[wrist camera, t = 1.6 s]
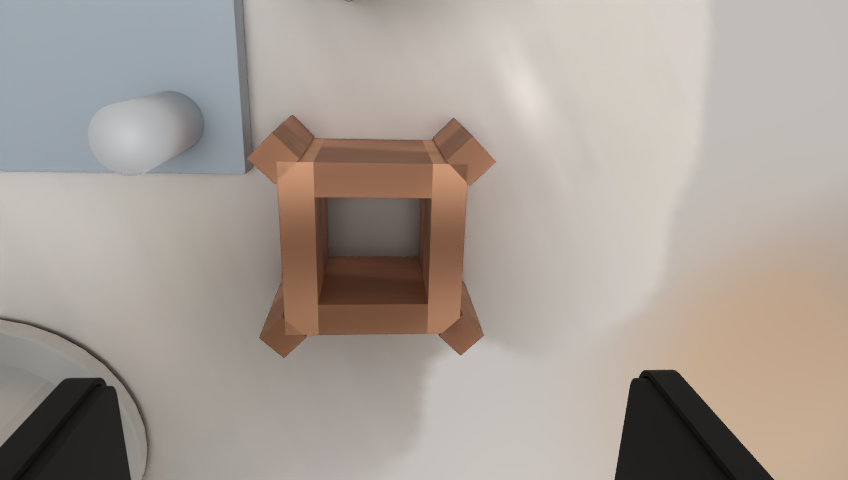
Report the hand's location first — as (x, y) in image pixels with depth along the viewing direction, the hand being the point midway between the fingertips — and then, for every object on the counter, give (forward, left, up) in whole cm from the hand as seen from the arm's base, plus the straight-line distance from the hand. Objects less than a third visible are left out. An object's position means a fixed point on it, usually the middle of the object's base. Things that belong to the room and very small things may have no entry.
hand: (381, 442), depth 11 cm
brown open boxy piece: (0, 0, -16) cm, 16 cm away
